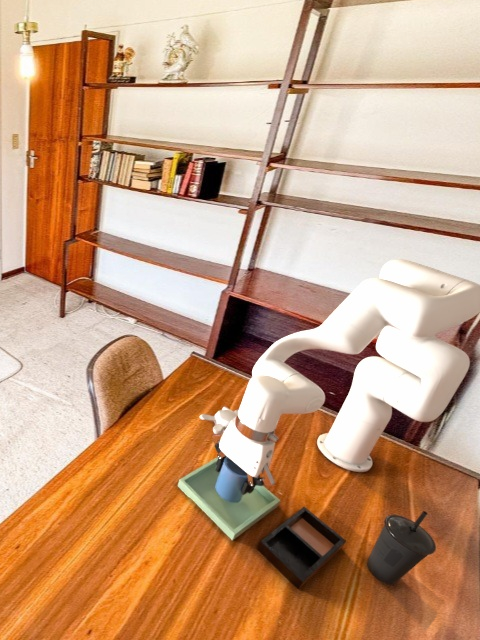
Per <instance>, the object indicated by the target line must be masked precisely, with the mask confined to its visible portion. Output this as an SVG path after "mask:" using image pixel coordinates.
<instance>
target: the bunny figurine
mask: <svg viewBox="0 0 480 640" xmlns="http://www.w3.org/2000/svg"><path fill="white" fill-rule="evenodd" d="M238 411H239V409H235V410H232V409H230V408H229V407H227V406H223V407H222V408H221V409H220V410H218V411H217V412H216V413H215V414H214V415H211V414H207V413H202V414H200V415H199V419H200V420H202V421H206V422H207V421H209V422H214V426H213V427H212V431H213V434H223V433H224V432H225V430H226V428H227V427H228V425H229V424H230V422H231V421H232V420H233V419H234V418H235V417H236V416H237V414H238Z"/></svg>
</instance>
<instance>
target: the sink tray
mask: <svg viewBox="0 0 480 640" xmlns="http://www.w3.org/2000/svg"><path fill="white" fill-rule="evenodd" d="M217 460H218V457H217V456H216V457H215V458H214V459H211V460H210V461H208V462H207V463H205V464H204V465H201V466H200V467H198V468H196V469H195V470H193V471H191V472H190V473H188V474H186V475H185V476H182V477H181V478H179V480H178V483H177V487H178V489H179V490H181V492H182V493H184V494H185V495H186V496H187V497H188V498H190V499H191V500H192V501H193V502H194V503H195V504H196V505H197V507H199V509H200V510H202V512H204V513H205V514H206V515H207V517H208V518H210V520H211V521H212V522H213V523H214V524H215V525H216V526H217V527H218V528H219V529H220V530H221V531H222V532H223V533H224V534H225V535H226V536H227V537H228V538H229V539H230V540H231V541H234V540H235V539H236V538H238V537H239V536H241V535H242V534H243V533H245V532H246V531H247V530H248V529H250V528H251V527H252V526H254V525H255V524H257V522H259V521H261V520H262V519H263V518H265V517H266V516H267V515H269V514H270V513H271V512H272V511H274V510H275V509H277V508H278V507H279V505H280V503H281V499H279V498H278V497H277V496H276V495H275V494H274V493H272V492H271V491H270V490H269V489H268V488H267V487H266V486H256V485H255V488H254V490H253V492H252V493H250V494H249V493H246V494H245V495H243V497H242V500H241V501H240V502H237V503H232V502H229V501H226V500H225V499H223V498H222V497H221V496H220V495H219V494H218V493H217V491H216V489H215V484H216V481H217V478H218V475H219V473H220V472H217V471H216V467H217V465H216V463H217Z"/></svg>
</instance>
